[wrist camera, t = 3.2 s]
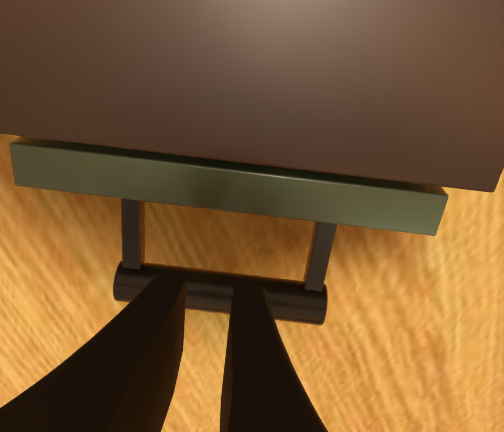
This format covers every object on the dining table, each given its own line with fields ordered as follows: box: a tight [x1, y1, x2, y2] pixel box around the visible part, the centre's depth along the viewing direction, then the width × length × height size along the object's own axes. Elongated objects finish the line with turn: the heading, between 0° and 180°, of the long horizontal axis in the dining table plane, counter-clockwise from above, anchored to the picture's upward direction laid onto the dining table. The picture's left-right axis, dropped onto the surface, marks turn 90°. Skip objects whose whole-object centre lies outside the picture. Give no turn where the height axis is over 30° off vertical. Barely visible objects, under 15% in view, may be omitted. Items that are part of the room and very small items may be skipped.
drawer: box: [9, 136, 448, 325], centre depth 13 cm, size 18×11×7 cm, turn 174°
